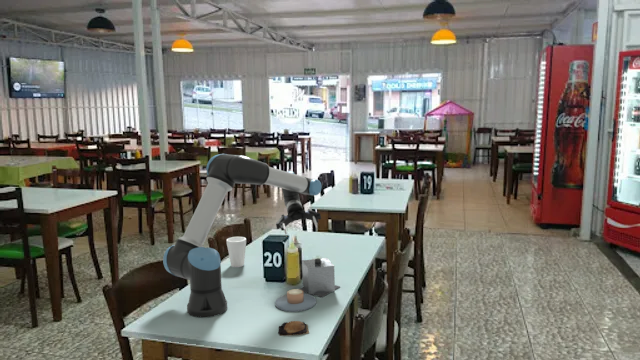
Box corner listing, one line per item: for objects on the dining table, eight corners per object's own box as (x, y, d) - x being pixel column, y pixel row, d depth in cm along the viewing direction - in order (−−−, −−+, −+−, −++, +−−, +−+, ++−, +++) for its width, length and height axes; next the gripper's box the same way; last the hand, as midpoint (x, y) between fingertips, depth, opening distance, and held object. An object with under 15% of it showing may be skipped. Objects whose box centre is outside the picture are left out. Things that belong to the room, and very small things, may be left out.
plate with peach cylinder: (299, 315, 188) (298, 303, 188) (266, 305, 198) (266, 294, 197) (323, 300, 201) (323, 289, 201) (292, 292, 210) (291, 281, 210)
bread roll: (307, 325, 181) (307, 315, 180) (309, 336, 173) (309, 325, 172) (277, 327, 180) (277, 317, 179) (278, 338, 172) (278, 327, 171)
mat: (322, 297, 205) (322, 296, 205) (296, 290, 212) (296, 290, 212) (339, 287, 215) (339, 286, 215) (315, 281, 223) (315, 280, 223)
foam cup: (249, 262, 252) (248, 236, 250) (244, 268, 242) (243, 242, 240) (230, 262, 253) (229, 236, 250) (225, 268, 243) (224, 241, 241)
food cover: (334, 291, 210) (334, 261, 208) (308, 294, 207) (308, 264, 205) (327, 282, 220) (327, 254, 218) (302, 285, 217) (302, 256, 216)
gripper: (322, 211, 241) (330, 229, 221) (270, 223, 239) (274, 242, 219) (319, 197, 239) (327, 213, 219) (267, 208, 236) (270, 226, 216)
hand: (300, 228), depth 219 cm, fingers open, 13 cm apart
